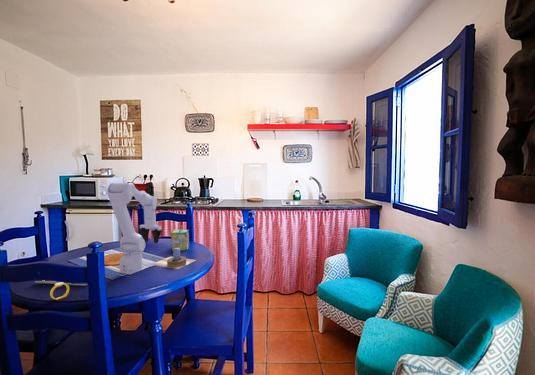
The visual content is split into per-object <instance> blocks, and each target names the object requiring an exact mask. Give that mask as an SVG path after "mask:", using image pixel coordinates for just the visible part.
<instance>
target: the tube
mask: <svg viewBox="0 0 535 375" xmlns="http://www.w3.org/2000/svg"><path fill="white" fill-rule="evenodd" d="M35 283H36V284H38V285H39V284H45V285H47V284H48V285H50V284H51V285H55V284H56V283H59V282H56V281H45V280H42V281H35ZM35 283H34V284H35ZM65 284H67V285H68V286H79V287H80V286H81V287H87V286H88V285H87V284H71V283H65Z"/></svg>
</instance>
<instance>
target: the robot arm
mask: <svg viewBox="0 0 535 375" xmlns="http://www.w3.org/2000/svg"><path fill="white" fill-rule="evenodd" d="M106 193H107V194H106V195H107V197H108V200H109V202H110V205H111V207H112V210H113V212H114V215H115V218H116V220H117V223H118V226H119V228H120V231H121V234H122V236H121V237H120V240H119V244H120V246H119V247H120V250H121V252H123V254H124V255H122V256H120V258H119V273H121V274H126V275H132V274H135V273H138V272H140V271H143V270H145V269H147V267H146V266H143V253H142V252H144V250H145V248H146V242H149V240H150V237H149V234H150V230H151V234H152V237H153V243H154V244H158V243H159V240H160V236H161V234H162V232H163V230H162V229H163V228H162V227H163V226H162V225H158V224H157V221H156V220H157V218H156V216H157V214H156V209H157V204H158V200H157V198H156V196H154V195H150V194H149V193H147V192H146V191H145V190H138V188H136V186H135V184H134V183H132V182H125V183H124V182H122V183H121V182H120V183H119V182H118V183H117V182H116V183H115V182H111V183H110V184H108V187H107V190H106ZM133 197H134V200H135V201H137V202H139V203H140V204H141V206H142V207H143V218H144V220H143V221H144V224H140V225H139V230H138V231H139V232H140V233H137V232H136V230H135V228H134V224H133V221H132V219H131V216H130V212H129V210H128V208H127V207H128V206H127V205H128V204H129V203H130V202H131V200H132V199H133Z"/></svg>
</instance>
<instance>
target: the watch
mask: <svg viewBox="0 0 535 375" xmlns="http://www.w3.org/2000/svg"><path fill="white" fill-rule="evenodd" d="M63 285H64V286H65V287H66V292H65V293H64V294H63V295H62V296H59V297H56V298H55V297H54V291H55V290H56V288H59V287H62V286H63ZM69 292H70V285H67V284H65V283H64V282H59V283H56V284H54V286H53V287H52V288H51V289H50V292H49V296H50V298H51V299H53V300H56V301H58V300H61V299H63V298H66V297H67V296H68V295H69Z"/></svg>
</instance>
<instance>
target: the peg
mask: <svg viewBox="0 0 535 375" xmlns="http://www.w3.org/2000/svg"><path fill="white" fill-rule="evenodd" d="M172 252H173V254H172V255H173V257H174V261H178V260H180V256H181V250H180V248H174V249H173V251H172Z"/></svg>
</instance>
